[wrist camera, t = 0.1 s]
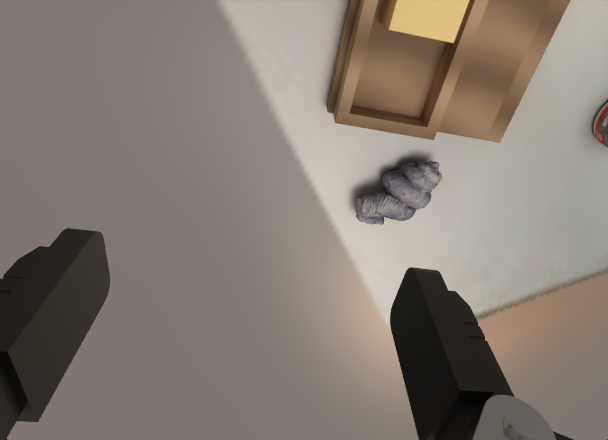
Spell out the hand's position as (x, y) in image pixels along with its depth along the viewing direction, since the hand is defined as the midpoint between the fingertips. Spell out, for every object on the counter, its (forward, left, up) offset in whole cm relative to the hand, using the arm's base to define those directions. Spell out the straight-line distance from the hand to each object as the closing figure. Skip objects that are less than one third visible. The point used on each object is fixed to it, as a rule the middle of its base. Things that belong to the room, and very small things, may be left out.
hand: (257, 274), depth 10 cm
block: (-7, +10, -27) cm, 29 cm away
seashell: (+11, +14, -29) cm, 34 cm away
